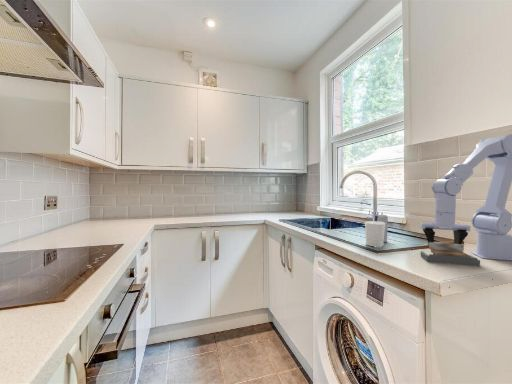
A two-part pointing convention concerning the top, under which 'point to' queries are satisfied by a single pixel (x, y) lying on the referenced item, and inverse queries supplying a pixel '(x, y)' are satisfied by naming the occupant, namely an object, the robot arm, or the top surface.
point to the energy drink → (384, 219)
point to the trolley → (447, 249)
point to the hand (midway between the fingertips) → (443, 249)
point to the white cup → (375, 233)
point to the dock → (450, 259)
